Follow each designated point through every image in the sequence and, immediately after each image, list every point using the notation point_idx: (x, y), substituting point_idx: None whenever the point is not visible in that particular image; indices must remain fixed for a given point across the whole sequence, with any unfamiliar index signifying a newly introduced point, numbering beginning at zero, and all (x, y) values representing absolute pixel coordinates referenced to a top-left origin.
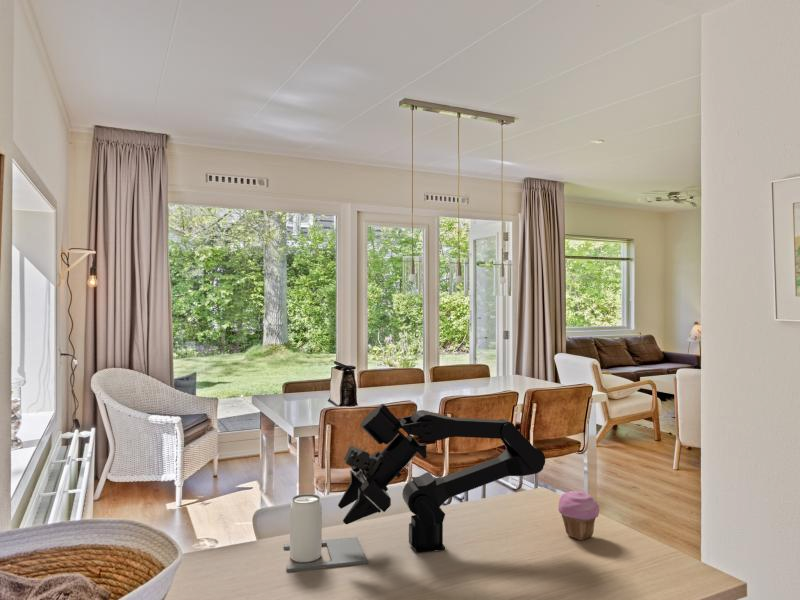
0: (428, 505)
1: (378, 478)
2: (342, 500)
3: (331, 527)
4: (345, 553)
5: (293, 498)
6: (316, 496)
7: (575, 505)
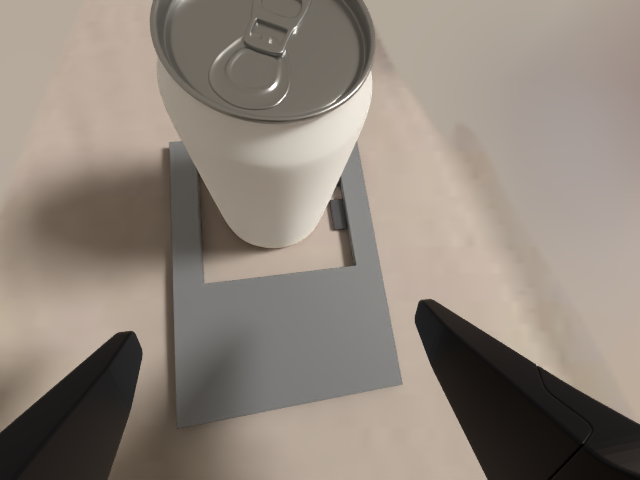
0: None
1: None
2: (443, 330)
3: (501, 285)
4: (254, 335)
5: None
6: (332, 106)
7: None
